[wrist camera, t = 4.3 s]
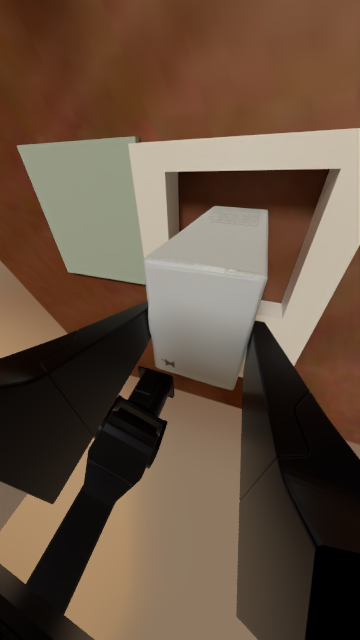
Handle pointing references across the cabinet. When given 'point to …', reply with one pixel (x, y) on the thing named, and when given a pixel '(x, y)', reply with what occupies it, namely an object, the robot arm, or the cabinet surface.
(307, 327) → the cream rectangular frame
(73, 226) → the mat
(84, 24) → the cabinet surface
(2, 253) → the cabinet surface
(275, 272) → the cabinet surface
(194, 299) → the skincare box
